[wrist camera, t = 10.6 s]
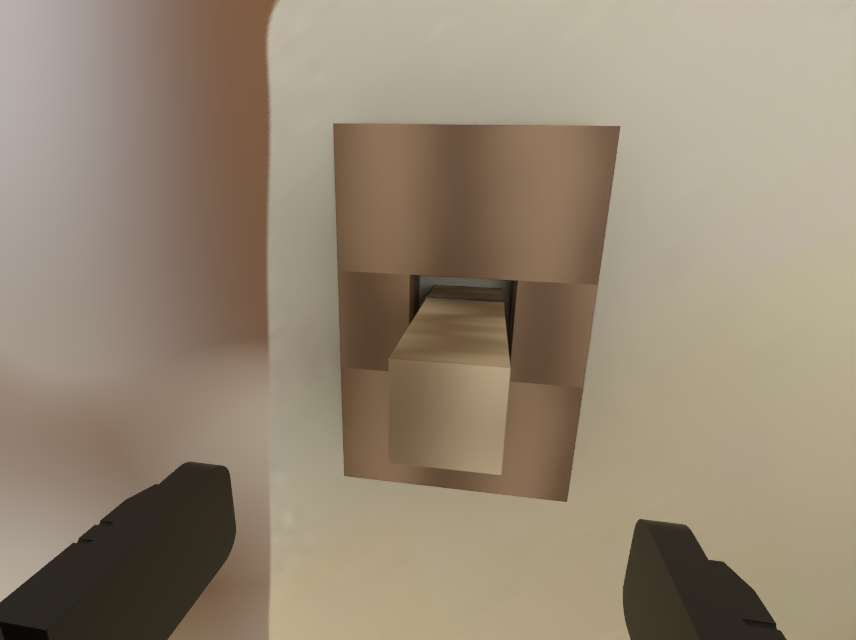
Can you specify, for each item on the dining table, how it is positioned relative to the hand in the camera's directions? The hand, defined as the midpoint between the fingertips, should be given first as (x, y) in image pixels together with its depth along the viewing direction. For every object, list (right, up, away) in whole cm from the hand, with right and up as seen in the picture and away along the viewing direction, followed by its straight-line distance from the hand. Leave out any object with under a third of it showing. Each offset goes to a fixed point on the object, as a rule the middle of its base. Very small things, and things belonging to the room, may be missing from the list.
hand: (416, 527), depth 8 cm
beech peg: (+2, +4, +15) cm, 16 cm away
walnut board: (+2, +4, +15) cm, 16 cm away
